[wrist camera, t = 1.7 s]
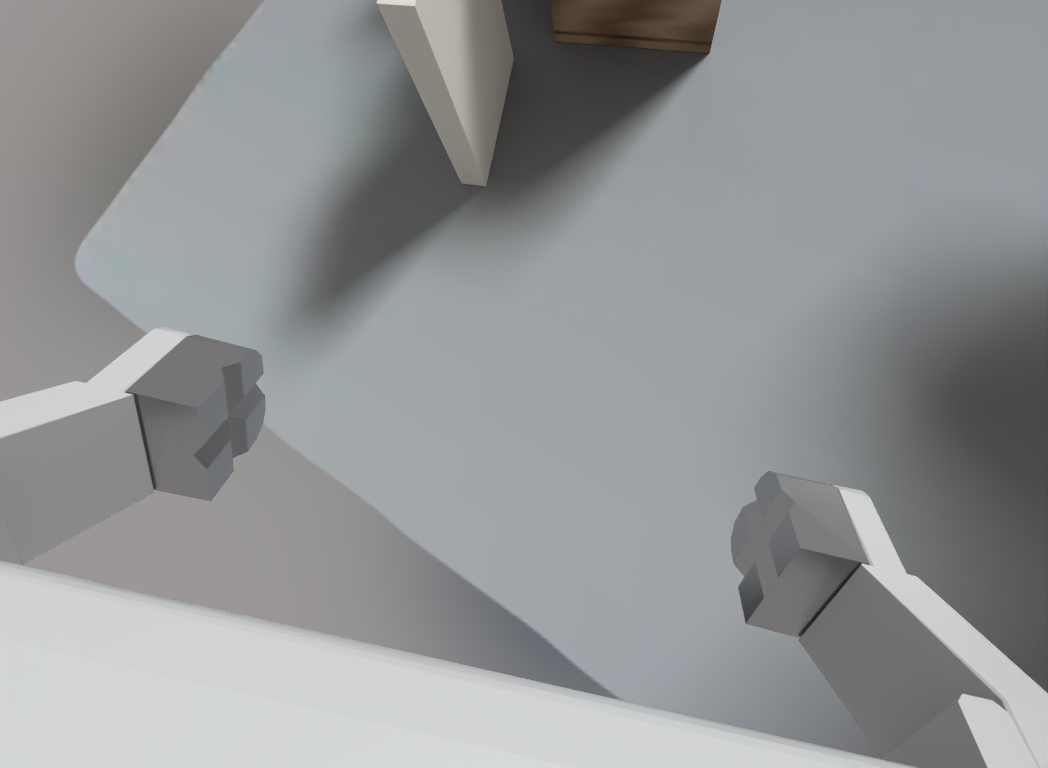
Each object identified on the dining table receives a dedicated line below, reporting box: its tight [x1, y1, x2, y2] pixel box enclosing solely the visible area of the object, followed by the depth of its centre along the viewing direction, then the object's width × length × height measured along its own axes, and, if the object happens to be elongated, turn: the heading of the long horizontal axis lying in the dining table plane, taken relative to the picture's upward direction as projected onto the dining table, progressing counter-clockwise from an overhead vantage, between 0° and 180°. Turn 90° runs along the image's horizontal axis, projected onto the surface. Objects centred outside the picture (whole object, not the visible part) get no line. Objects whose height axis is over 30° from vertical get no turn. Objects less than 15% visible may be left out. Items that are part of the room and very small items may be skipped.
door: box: [376, 0, 514, 186], centre depth 40 cm, size 2×11×18 cm, turn 169°
